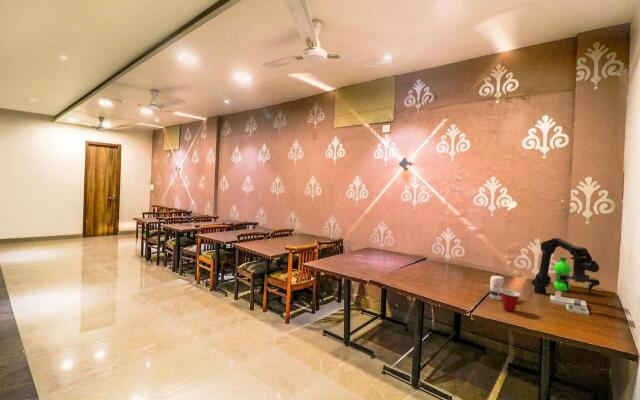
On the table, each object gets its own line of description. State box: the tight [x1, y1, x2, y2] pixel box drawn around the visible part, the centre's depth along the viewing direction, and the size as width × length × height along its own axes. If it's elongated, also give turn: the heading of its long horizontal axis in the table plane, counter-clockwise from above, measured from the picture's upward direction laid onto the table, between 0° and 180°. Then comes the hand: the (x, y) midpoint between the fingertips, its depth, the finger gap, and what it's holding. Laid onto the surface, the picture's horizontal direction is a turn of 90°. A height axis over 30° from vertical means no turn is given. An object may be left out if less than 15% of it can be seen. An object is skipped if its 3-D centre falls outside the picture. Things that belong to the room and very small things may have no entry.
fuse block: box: [549, 294, 588, 308], centre depth 200 cm, size 18×10×4 cm, turn 54°
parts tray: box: [565, 304, 590, 316], centre depth 189 cm, size 10×10×2 cm
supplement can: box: [489, 275, 505, 301], centre depth 210 cm, size 8×8×15 cm
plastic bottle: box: [553, 256, 572, 293], centre depth 230 cm, size 10×10×25 cm
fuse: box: [554, 290, 562, 300], centre depth 202 cm, size 3×3×7 cm
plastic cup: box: [500, 288, 521, 313], centre depth 189 cm, size 11×11×12 cm
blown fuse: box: [573, 298, 581, 311], centre depth 189 cm, size 3×3×7 cm
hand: (578, 292), depth 189 cm, fingers open, 9 cm apart
